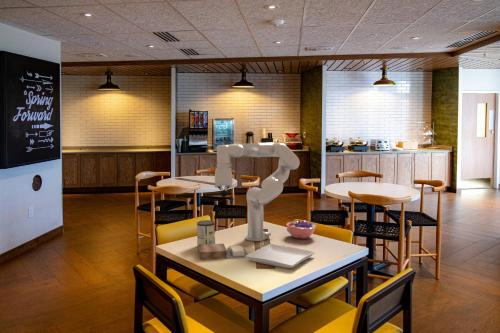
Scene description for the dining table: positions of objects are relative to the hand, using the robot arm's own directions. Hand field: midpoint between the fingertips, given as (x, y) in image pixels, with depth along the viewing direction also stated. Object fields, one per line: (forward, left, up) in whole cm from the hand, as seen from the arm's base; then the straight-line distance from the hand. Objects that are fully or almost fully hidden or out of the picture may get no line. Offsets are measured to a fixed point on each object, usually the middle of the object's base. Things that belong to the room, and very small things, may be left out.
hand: (223, 197), depth 251 cm
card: (-5, +23, -24) cm, 34 cm away
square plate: (-25, +36, -28) cm, 52 cm away
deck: (+9, +23, -27) cm, 37 cm away
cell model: (-48, -3, -27) cm, 55 cm away
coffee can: (+11, +6, -27) cm, 30 cm away
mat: (-4, +23, -27) cm, 36 cm away
